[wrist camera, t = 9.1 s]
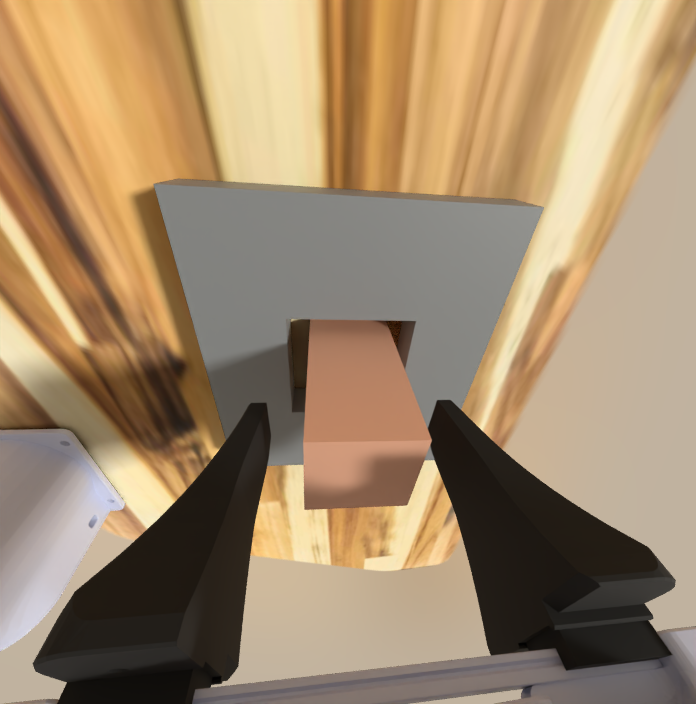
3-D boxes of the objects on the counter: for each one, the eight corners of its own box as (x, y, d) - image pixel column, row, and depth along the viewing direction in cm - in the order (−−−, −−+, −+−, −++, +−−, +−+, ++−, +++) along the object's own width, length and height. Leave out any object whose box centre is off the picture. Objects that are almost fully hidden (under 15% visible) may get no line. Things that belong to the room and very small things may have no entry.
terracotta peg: (375, 375, 18) (407, 505, 11) (310, 374, 17) (304, 510, 11) (384, 317, 16) (431, 440, 9) (310, 315, 15) (303, 442, 9)
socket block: (431, 436, 22) (440, 459, 20) (240, 441, 20) (233, 466, 19) (515, 199, 13) (543, 207, 11) (177, 178, 11) (153, 183, 10)
